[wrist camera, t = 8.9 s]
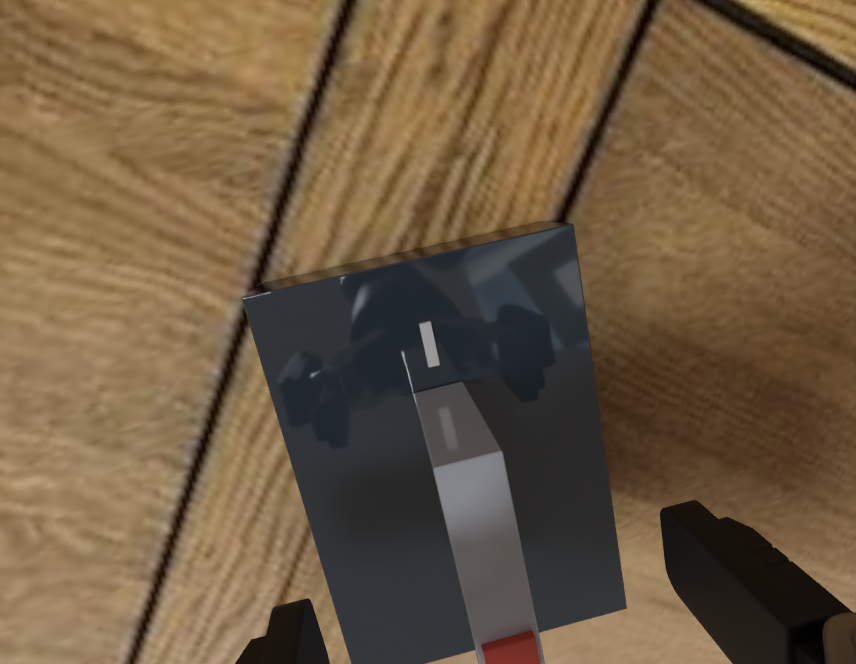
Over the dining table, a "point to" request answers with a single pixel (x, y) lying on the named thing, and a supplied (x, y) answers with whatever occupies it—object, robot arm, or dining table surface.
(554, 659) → the dining table surface
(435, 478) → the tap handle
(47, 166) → the dining table surface
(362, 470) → the lever base
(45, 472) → the dining table surface
